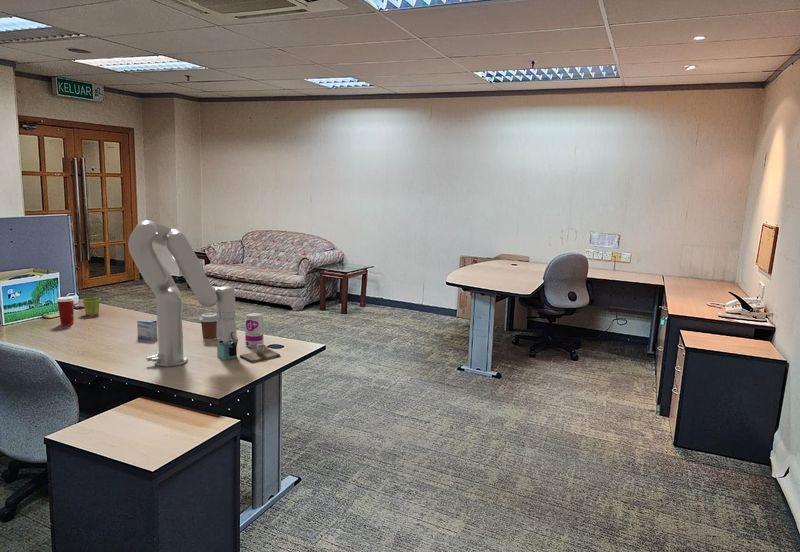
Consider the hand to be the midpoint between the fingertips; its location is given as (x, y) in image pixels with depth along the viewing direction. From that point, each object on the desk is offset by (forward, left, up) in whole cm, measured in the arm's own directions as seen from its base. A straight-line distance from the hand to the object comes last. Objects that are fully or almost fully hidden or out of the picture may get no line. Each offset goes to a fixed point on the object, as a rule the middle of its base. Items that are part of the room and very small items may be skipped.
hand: (227, 353), depth 235 cm
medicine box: (-15, +51, -2) cm, 53 cm away
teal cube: (0, 0, -2) cm, 2 cm away
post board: (+11, -9, -2) cm, 14 cm away
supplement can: (+18, +8, -2) cm, 20 cm away
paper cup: (-37, +102, -2) cm, 109 cm away
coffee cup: (+7, +31, -2) cm, 32 cm away
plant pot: (-21, +117, -2) cm, 119 cm away
